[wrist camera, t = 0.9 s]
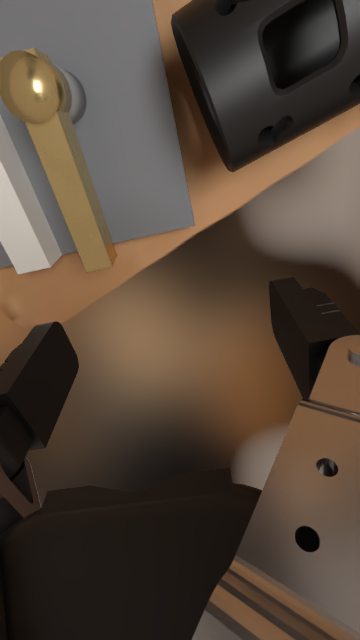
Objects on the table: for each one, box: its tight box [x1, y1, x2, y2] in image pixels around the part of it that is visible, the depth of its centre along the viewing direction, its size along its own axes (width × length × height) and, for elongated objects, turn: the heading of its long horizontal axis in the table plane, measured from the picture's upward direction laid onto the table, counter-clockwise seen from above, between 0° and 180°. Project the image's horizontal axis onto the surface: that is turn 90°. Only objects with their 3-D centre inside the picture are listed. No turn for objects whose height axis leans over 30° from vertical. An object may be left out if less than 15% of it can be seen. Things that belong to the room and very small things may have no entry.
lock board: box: [0, 0, 195, 274], centre depth 22 cm, size 18×20×8 cm
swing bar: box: [0, 48, 117, 272], centre depth 20 cm, size 13×3×3 cm, turn 12°
